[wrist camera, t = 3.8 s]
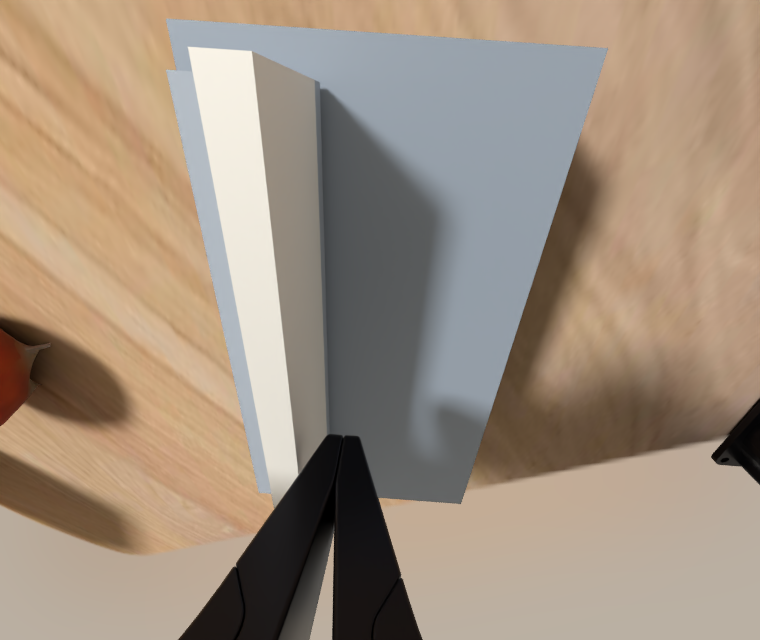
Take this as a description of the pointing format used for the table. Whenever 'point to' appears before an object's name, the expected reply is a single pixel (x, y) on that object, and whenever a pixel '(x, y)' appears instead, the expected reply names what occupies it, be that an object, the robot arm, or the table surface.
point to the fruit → (15, 374)
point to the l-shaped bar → (263, 244)
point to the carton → (426, 223)
